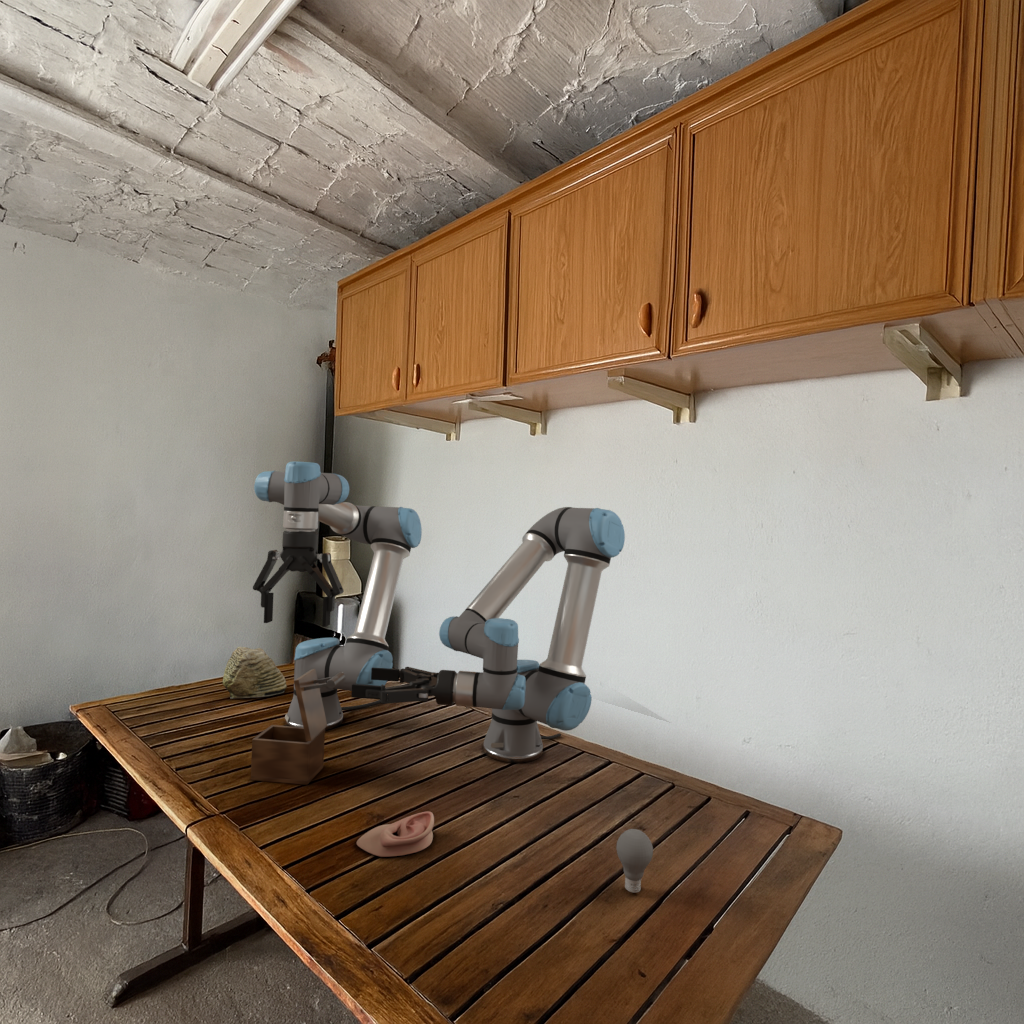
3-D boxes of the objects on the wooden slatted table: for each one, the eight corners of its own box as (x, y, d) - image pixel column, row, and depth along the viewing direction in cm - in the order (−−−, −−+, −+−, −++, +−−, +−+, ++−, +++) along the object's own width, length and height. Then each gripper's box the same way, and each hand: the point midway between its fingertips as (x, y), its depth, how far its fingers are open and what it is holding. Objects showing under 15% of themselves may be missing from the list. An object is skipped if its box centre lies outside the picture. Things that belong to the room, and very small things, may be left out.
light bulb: (610, 879, 108) (613, 822, 108) (644, 879, 109) (647, 822, 109) (619, 902, 102) (622, 840, 102) (655, 901, 103) (658, 840, 103)
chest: (250, 779, 140) (252, 739, 140) (270, 762, 149) (271, 724, 149) (307, 784, 139) (308, 744, 139) (323, 767, 148) (325, 729, 148)
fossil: (218, 695, 195) (220, 647, 195) (278, 685, 208) (279, 640, 207) (228, 703, 189) (230, 653, 188) (289, 692, 201) (290, 645, 201)
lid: (293, 680, 139) (329, 673, 138) (310, 669, 148) (344, 662, 147) (306, 741, 139) (342, 735, 138) (322, 726, 148) (357, 720, 147)
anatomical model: (349, 829, 113) (376, 800, 125) (348, 851, 113) (375, 820, 125) (420, 841, 111) (440, 810, 122) (419, 863, 111) (439, 830, 122)
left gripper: (239, 528, 140) (235, 623, 141) (348, 533, 138) (344, 630, 139) (255, 527, 148) (252, 617, 148) (359, 532, 146) (356, 623, 146)
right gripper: (444, 724, 128) (342, 716, 130) (464, 688, 153) (378, 682, 155) (445, 687, 128) (343, 680, 130) (465, 657, 153) (379, 651, 155)
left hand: (297, 624), depth 143 cm, fingers open, 13 cm apart
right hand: (362, 681), depth 142 cm, fingers open, 13 cm apart
